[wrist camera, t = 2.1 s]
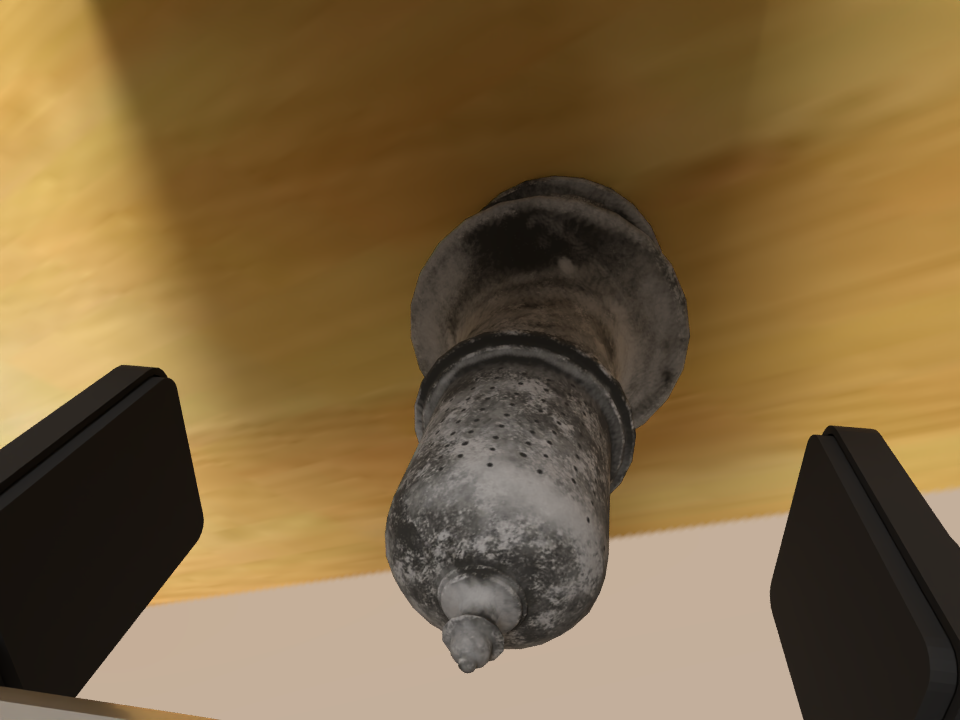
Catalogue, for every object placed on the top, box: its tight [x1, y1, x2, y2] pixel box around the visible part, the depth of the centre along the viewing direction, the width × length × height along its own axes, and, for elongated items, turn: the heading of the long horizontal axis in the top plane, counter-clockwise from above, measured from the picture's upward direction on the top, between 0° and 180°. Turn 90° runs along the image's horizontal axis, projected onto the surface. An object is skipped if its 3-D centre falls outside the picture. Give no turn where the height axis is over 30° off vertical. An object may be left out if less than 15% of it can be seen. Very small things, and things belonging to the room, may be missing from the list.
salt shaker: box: [385, 176, 690, 673], centre depth 12 cm, size 6×6×12 cm
